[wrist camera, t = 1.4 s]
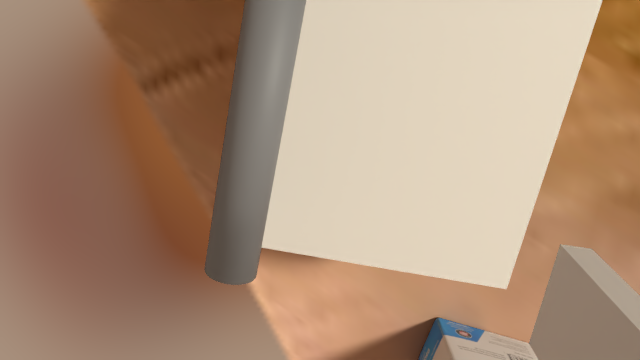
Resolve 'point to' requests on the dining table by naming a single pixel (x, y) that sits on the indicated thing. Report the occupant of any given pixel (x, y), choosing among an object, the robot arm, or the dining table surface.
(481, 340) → the ink box
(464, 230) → the lid flap
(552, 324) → the robot arm
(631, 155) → the dining table surface
